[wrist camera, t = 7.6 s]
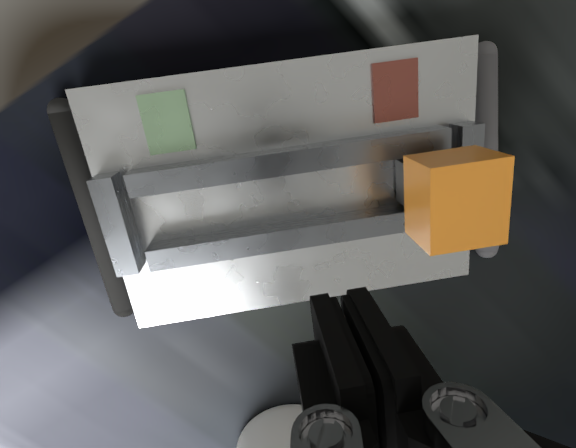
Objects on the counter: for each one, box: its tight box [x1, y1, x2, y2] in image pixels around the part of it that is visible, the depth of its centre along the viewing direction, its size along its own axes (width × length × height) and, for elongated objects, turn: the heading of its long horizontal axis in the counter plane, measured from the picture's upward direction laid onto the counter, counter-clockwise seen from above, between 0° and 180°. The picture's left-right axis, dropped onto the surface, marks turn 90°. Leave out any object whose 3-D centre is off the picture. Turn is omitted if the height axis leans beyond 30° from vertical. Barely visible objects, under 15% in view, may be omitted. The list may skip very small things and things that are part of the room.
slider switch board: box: [65, 35, 485, 328], centre depth 22 cm, size 14×21×4 cm, turn 97°
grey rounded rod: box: [475, 41, 499, 258], centre depth 24 cm, size 13×1×1 cm, turn 11°
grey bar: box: [47, 98, 134, 317], centre depth 23 cm, size 13×1×1 cm, turn 7°
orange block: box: [395, 145, 515, 256], centre depth 20 cm, size 4×4×6 cm
